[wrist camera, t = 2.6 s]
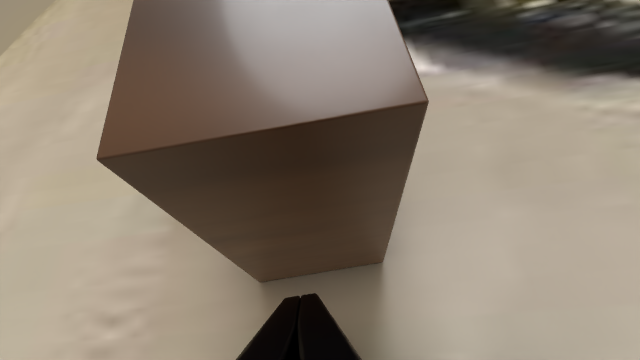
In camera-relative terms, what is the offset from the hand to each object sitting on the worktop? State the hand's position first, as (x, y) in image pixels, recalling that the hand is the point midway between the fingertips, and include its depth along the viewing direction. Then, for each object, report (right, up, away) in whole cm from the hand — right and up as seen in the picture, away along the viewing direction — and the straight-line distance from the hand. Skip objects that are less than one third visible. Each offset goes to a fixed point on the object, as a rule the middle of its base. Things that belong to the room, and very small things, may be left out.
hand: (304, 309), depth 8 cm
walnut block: (0, +2, +11) cm, 12 cm away
